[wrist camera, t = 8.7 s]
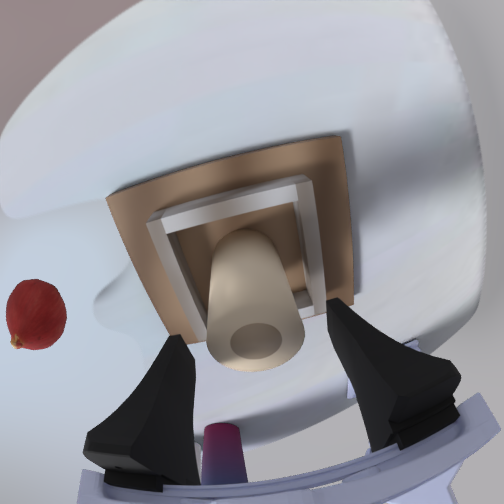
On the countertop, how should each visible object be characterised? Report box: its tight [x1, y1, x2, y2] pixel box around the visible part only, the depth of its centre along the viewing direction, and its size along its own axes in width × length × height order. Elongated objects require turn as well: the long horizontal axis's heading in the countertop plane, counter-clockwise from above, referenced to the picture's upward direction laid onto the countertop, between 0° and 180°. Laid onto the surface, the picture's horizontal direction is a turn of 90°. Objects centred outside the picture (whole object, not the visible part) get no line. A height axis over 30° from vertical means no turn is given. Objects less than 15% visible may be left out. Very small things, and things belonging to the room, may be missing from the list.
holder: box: [106, 135, 354, 345], centre depth 19 cm, size 16×14×3 cm
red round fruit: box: [6, 279, 67, 350], centre depth 17 cm, size 6×6×8 cm
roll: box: [206, 229, 305, 372], centre depth 16 cm, size 5×5×8 cm
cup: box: [201, 423, 248, 501], centre depth 27 cm, size 7×7×15 cm
